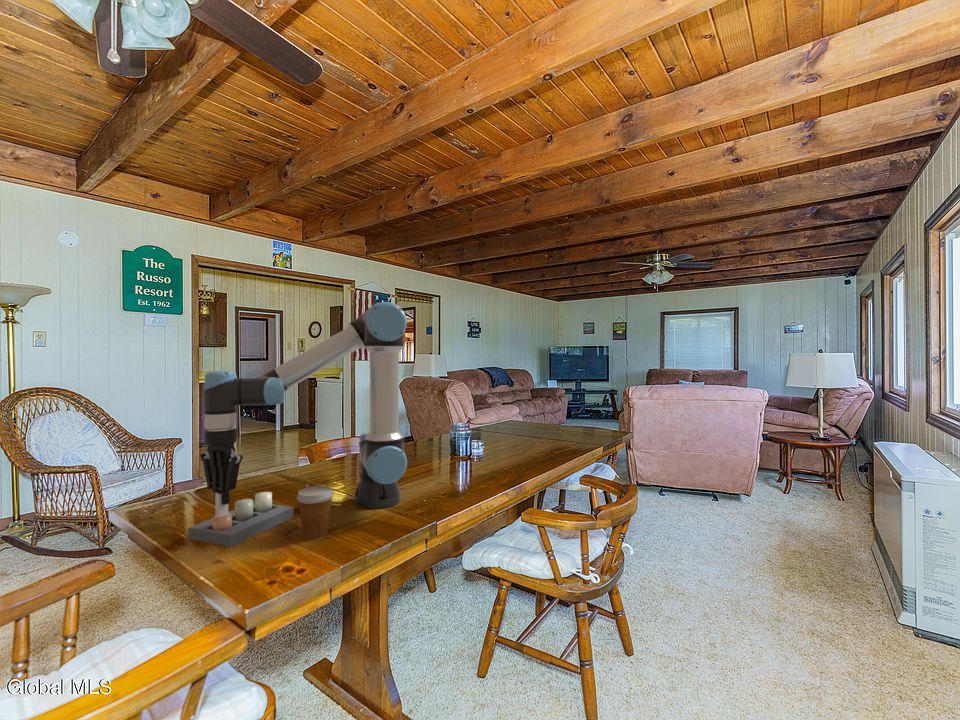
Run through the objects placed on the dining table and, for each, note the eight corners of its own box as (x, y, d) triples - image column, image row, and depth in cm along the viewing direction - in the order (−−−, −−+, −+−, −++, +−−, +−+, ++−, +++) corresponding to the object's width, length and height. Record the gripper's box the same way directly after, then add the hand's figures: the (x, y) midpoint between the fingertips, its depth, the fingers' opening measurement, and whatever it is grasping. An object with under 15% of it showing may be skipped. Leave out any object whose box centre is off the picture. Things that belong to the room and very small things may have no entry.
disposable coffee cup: (297, 543, 116) (296, 498, 116) (296, 530, 125) (296, 487, 125) (335, 537, 120) (335, 493, 120) (332, 525, 129) (331, 483, 128)
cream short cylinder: (275, 509, 135) (275, 492, 135) (263, 514, 131) (263, 497, 131) (263, 507, 137) (263, 491, 137) (251, 512, 132) (251, 495, 132)
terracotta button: (236, 532, 122) (235, 514, 122) (221, 539, 118) (221, 520, 118) (223, 530, 124) (223, 512, 124) (208, 537, 119) (208, 518, 119)
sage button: (256, 517, 129) (256, 499, 129) (243, 522, 124) (243, 504, 124) (244, 515, 130) (244, 498, 130) (231, 520, 126) (230, 503, 126)
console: (293, 517, 135) (293, 507, 135) (230, 546, 114) (230, 535, 114) (255, 511, 140) (255, 501, 140) (188, 538, 120) (188, 527, 119)
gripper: (250, 427, 121) (251, 514, 122) (215, 425, 126) (216, 508, 126) (226, 432, 114) (227, 524, 115) (190, 429, 119) (191, 517, 119)
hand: (221, 515), depth 121 cm, fingers closed
